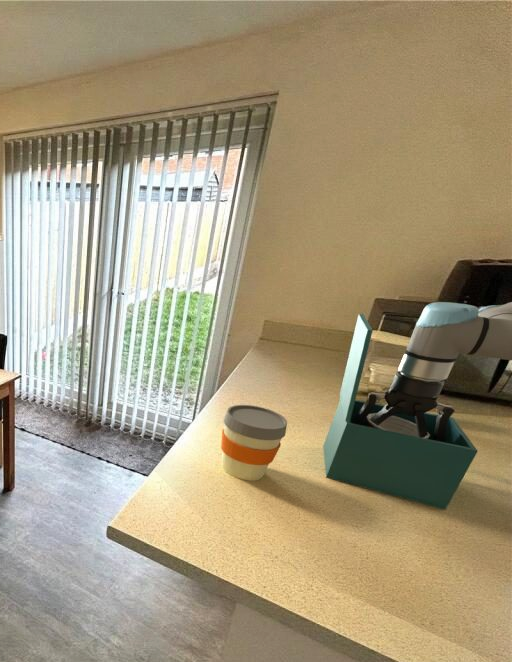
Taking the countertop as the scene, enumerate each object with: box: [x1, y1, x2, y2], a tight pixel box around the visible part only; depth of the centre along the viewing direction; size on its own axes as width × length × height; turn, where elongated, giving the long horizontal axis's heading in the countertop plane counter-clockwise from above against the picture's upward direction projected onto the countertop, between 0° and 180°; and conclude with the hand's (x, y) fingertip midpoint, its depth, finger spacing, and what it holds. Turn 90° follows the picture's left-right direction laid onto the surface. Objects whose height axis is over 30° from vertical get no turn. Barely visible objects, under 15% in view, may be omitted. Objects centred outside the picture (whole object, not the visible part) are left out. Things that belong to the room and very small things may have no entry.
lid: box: [339, 313, 373, 422], centre depth 90 cm, size 21×17×1 cm
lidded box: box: [322, 398, 478, 510], centre depth 92 cm, size 20×17×15 cm
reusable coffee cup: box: [220, 404, 288, 481], centre depth 94 cm, size 13×13×15 cm
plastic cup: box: [367, 413, 430, 439], centre depth 92 cm, size 11×11×12 cm
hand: (381, 463), depth 93 cm, fingers closed on plastic cup, 8 cm apart
